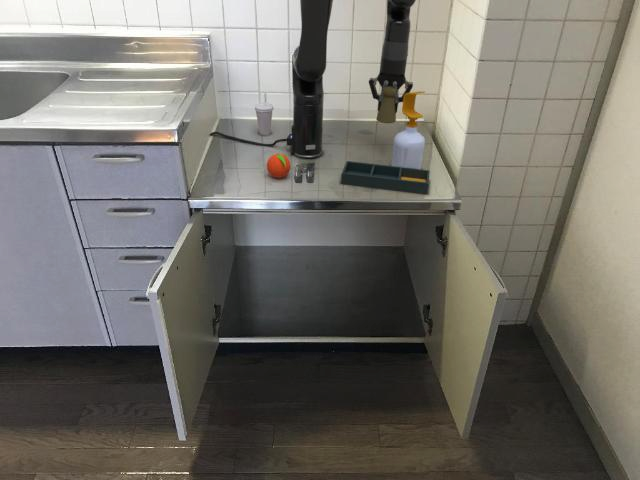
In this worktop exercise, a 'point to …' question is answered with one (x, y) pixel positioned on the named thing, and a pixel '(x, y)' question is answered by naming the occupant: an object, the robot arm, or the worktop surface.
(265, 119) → the smoothie
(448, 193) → the worktop surface
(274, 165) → the clementine
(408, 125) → the soap bottle
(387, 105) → the cork
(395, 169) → the tray
